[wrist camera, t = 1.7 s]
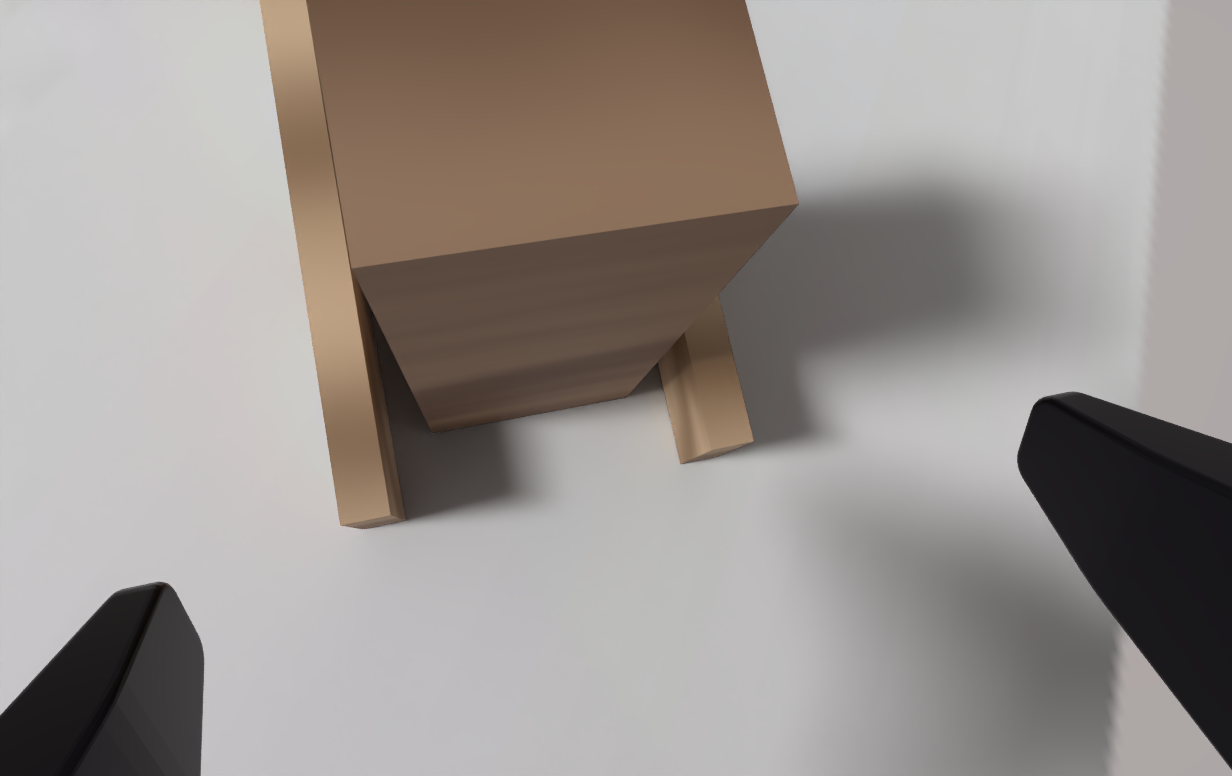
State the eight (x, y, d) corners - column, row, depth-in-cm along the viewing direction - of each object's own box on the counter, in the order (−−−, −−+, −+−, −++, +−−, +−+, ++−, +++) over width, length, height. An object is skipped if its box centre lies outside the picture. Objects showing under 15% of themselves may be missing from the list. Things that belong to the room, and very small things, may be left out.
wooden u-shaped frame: (716, 456, 21) (769, 434, 17) (363, 529, 19) (331, 524, 15) (561, -206, 24) (575, -351, 20) (248, -195, 22) (198, -350, 19)
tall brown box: (625, 397, 21) (799, 203, 9) (432, 433, 20) (352, 268, 8) (587, 218, 22) (700, -167, 10) (399, 245, 21) (283, -147, 9)
